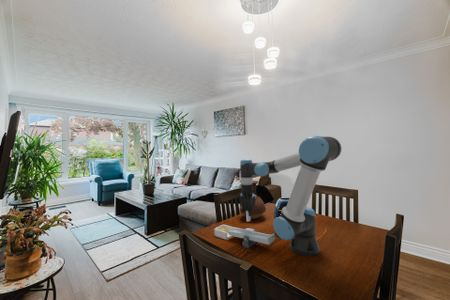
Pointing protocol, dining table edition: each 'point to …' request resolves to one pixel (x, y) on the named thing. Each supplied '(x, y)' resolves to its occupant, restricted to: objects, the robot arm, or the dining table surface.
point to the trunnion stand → (248, 242)
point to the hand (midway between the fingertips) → (248, 220)
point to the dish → (223, 234)
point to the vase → (259, 205)
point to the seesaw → (253, 235)
